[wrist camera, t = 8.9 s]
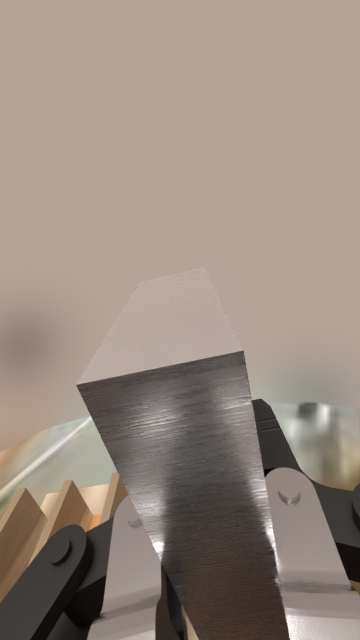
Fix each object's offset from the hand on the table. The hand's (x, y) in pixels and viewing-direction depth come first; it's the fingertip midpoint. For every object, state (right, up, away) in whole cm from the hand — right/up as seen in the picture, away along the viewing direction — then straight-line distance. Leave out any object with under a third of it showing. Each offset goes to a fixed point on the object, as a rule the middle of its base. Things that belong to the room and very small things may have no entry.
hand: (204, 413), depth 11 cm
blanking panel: (+2, -8, +1) cm, 8 cm away
